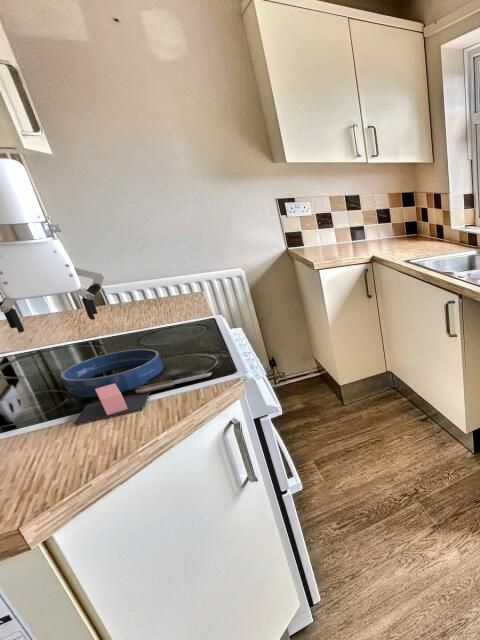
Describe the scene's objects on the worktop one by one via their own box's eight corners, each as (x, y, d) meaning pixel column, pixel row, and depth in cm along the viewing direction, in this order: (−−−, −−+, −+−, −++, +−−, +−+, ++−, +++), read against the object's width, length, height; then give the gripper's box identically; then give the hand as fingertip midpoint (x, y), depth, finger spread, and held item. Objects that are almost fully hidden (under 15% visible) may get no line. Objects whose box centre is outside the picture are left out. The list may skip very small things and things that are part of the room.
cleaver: (212, 368, 97) (211, 372, 93) (213, 374, 97) (213, 378, 93) (137, 384, 90) (133, 388, 86) (139, 390, 90) (136, 395, 86)
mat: (73, 425, 77) (72, 423, 77) (87, 406, 84) (86, 404, 84) (142, 410, 82) (141, 408, 82) (150, 393, 88) (149, 391, 88)
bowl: (58, 407, 83) (48, 387, 82) (83, 376, 96) (75, 358, 95) (158, 387, 91) (151, 368, 89) (170, 360, 104) (163, 344, 102)
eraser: (107, 415, 80) (100, 399, 78) (101, 404, 84) (94, 388, 82) (127, 408, 82) (121, 393, 80) (121, 398, 86) (114, 383, 84)
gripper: (83, 227, 83) (114, 310, 89) (-57, 236, 71) (-11, 331, 77) (89, 230, 78) (120, 317, 85) (-61, 241, 66) (-11, 341, 73)
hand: (58, 324), depth 81 cm, fingers open, 9 cm apart
